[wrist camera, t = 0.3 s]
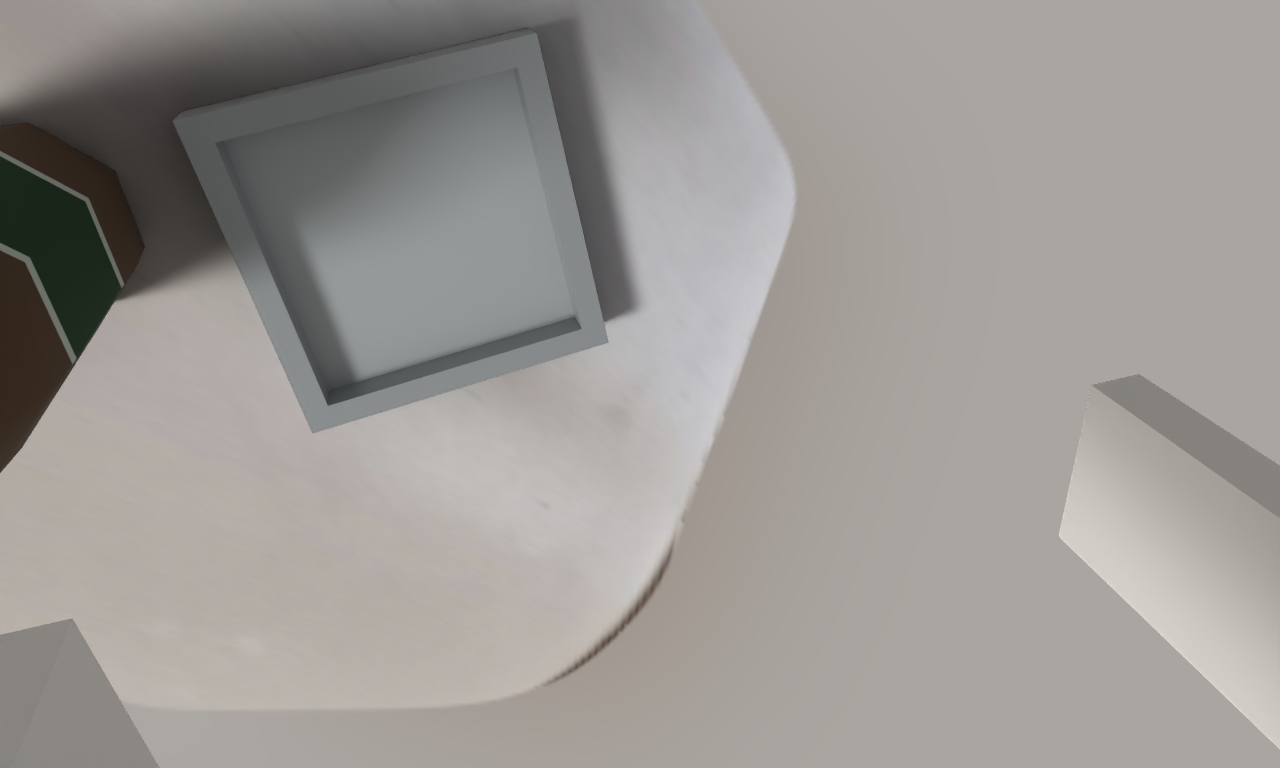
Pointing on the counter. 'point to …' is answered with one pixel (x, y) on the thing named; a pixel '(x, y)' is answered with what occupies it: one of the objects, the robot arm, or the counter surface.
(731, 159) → the counter surface
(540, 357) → the keeper tray
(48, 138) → the beer bottle
